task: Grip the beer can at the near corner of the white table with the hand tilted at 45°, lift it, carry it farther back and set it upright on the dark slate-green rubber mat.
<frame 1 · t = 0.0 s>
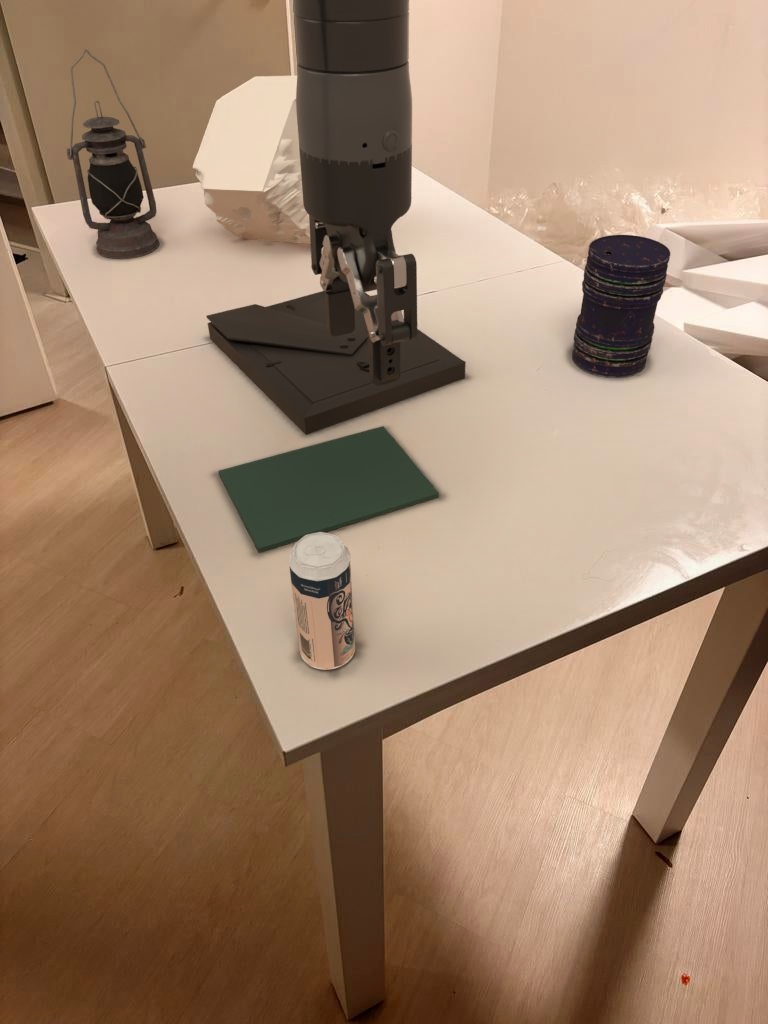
hand: (362, 356, 64), 22 cm above the table, tool pointing down, fingers open, 8 cm apart
dark blue cylinder: (608, 360, 107), on the table
beer can: (328, 653, 69), on the table
mat: (326, 485, 87), on the table
lantern: (128, 247, 139), on the table
white angular faceted block: (210, 146, 131), point 15 cm above the table
black flat block: (332, 363, 109), on the table
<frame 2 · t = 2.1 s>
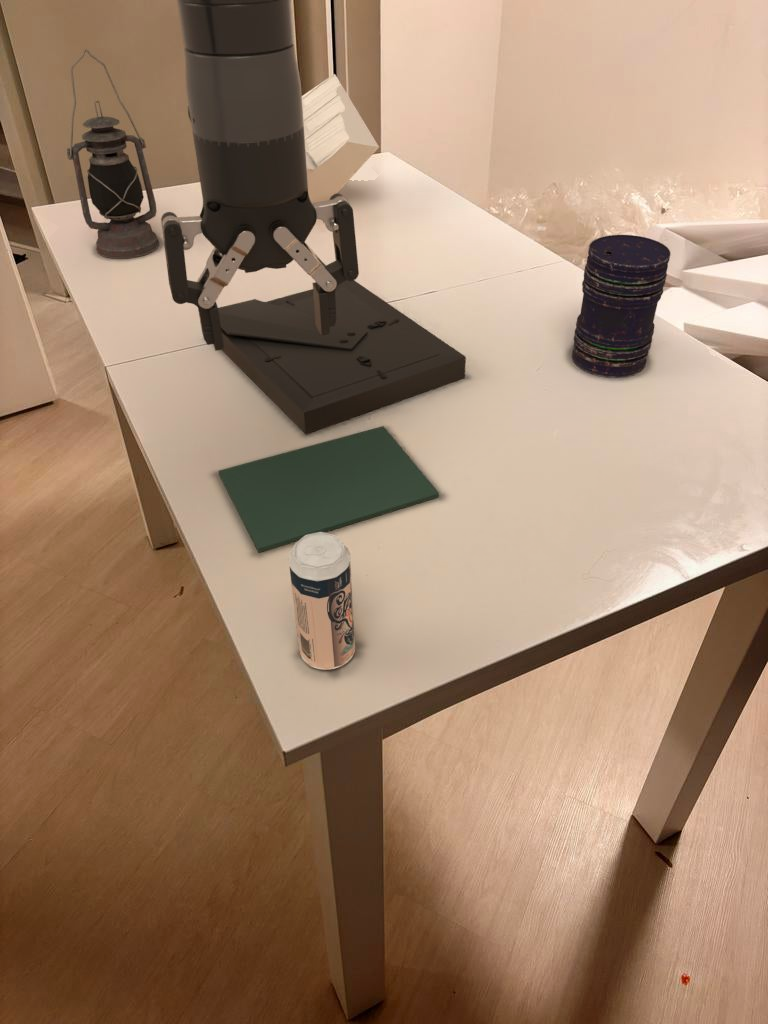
hand: (271, 338, 65), 23 cm above the table, tool pointing down, fingers open, 8 cm apart
white angular faceted block: (233, 177, 150), point 5 cm above the table
everything else where it was.
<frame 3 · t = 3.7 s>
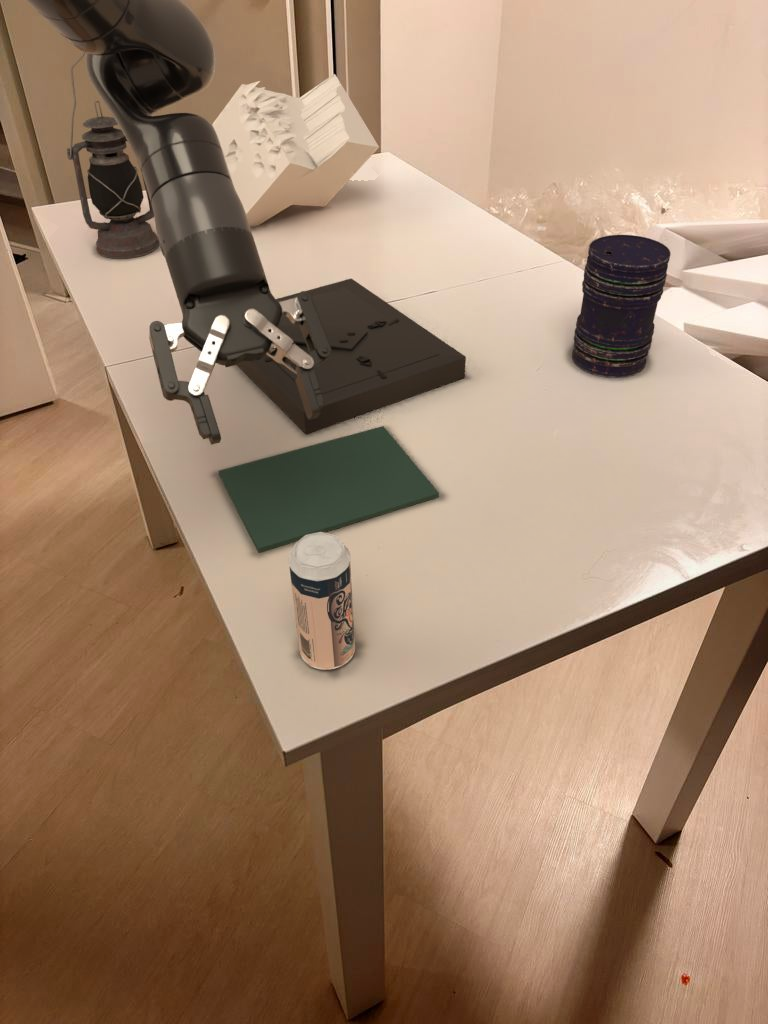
hand: (266, 429, 67), 16 cm above the table, tool tilted 45°, fingers open, 8 cm apart
nothing on the table moved.
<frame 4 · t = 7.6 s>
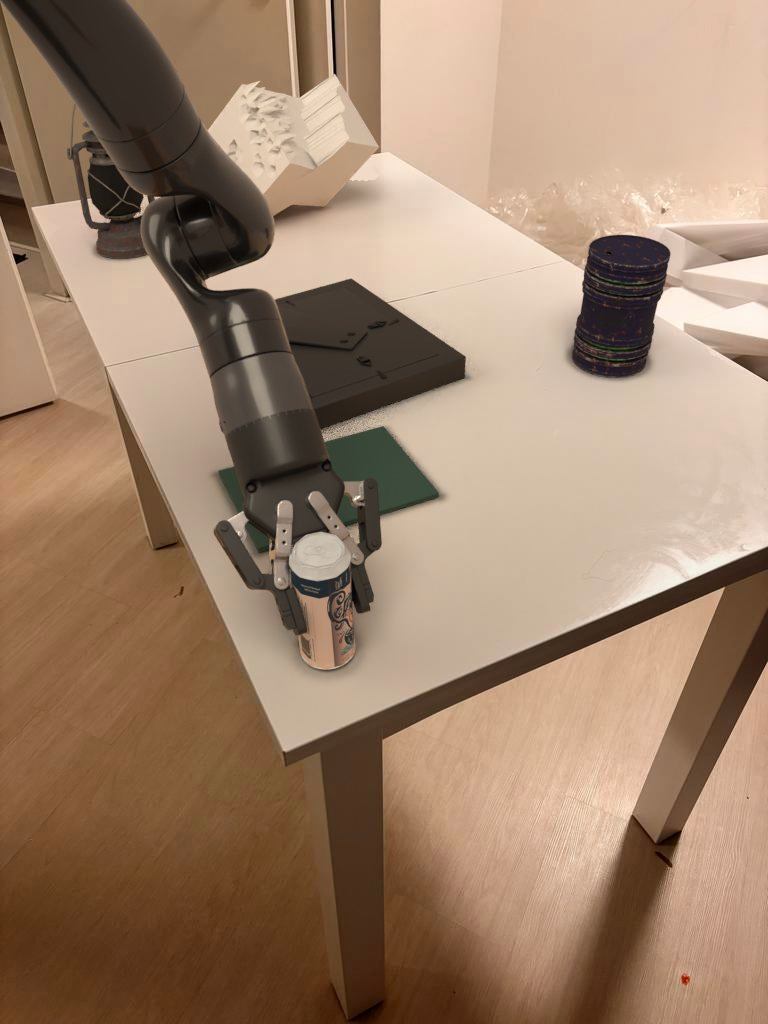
hand: (333, 621, 64), 6 cm above the table, tool tilted 45°, fingers closed on beer can, 4 cm apart
beer can: (328, 653, 69), on the table, touching gripper
everything else where it was.
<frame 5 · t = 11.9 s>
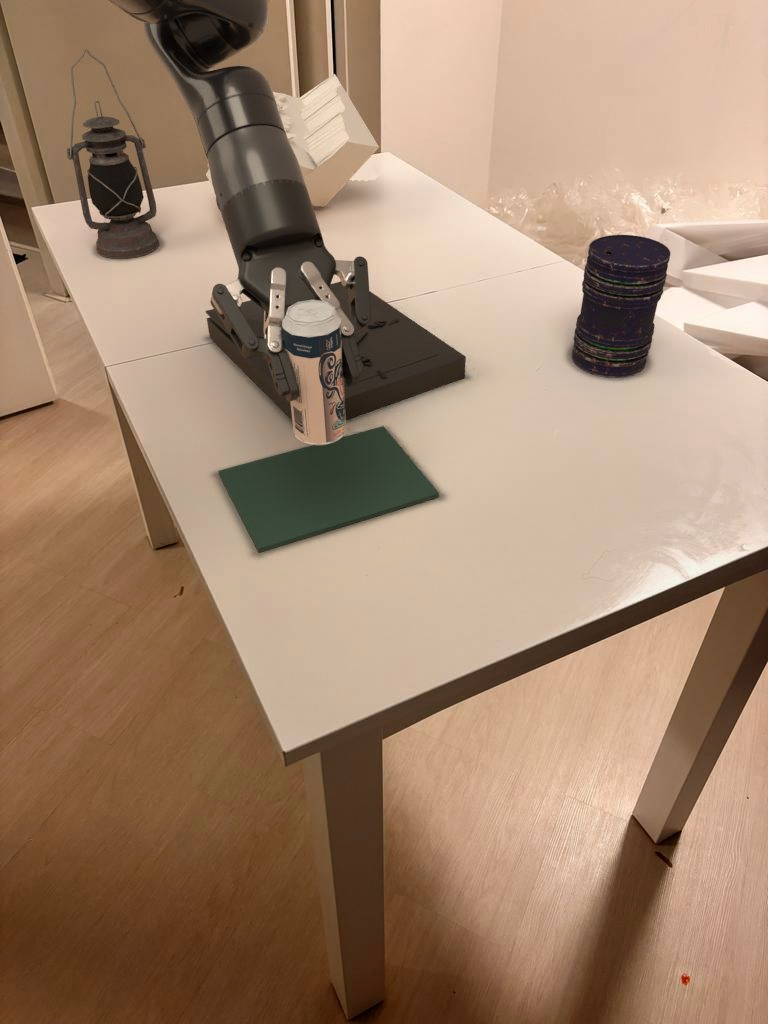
hand: (324, 390, 67), 18 cm above the table, tool tilted 45°, fingers closed on beer can, 4 cm apart
beer can: (320, 435, 72), point 12 cm above the table, touching gripper
everything else where it was.
when the fingers open (6 cm above the table, at t = 16.6 s): beer can stays where it is, resting on mat.
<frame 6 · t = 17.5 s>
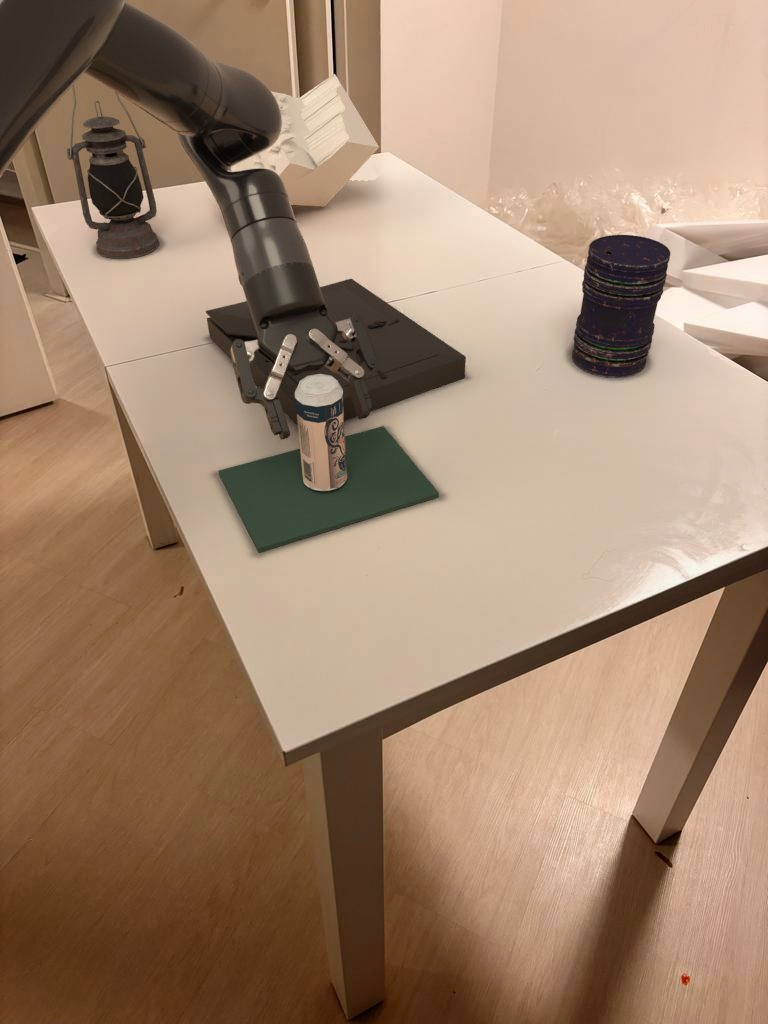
hand: (325, 427, 81), 8 cm above the table, tool tilted 45°, fingers open, 8 cm apart
beer can: (325, 482, 87), resting on mat
everything else where it was.
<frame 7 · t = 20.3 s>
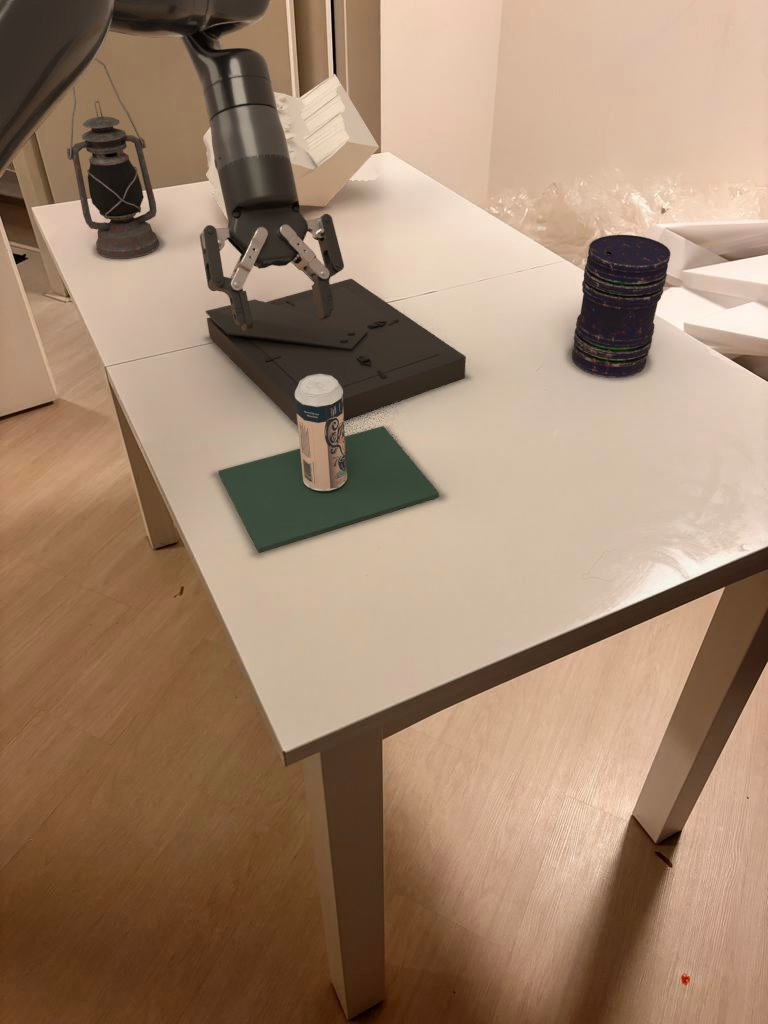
hand: (287, 323, 84), 15 cm above the table, tool tilted 35°, fingers open, 8 cm apart
nothing on the table moved.
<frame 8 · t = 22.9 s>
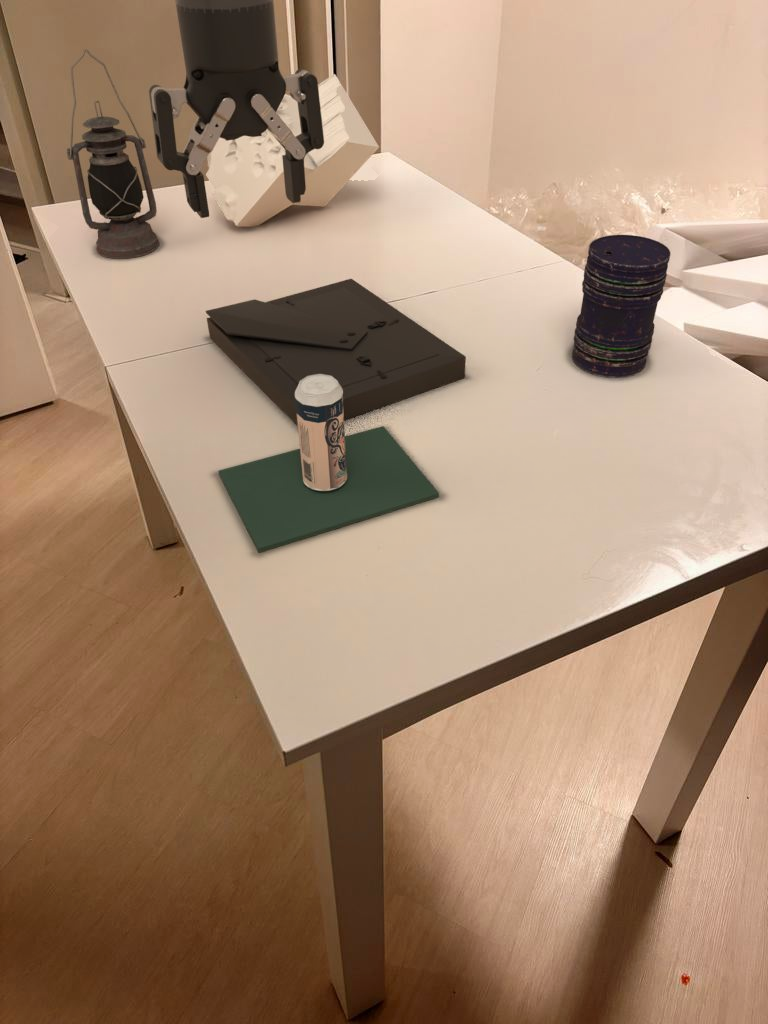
hand: (249, 207, 73), 28 cm above the table, tool pointing down, fingers open, 8 cm apart
nothing on the table moved.
at the end: beer can inside the target area on the mat (0.1 cm from its centre), point 0.4 cm above the mat's base; beer can tilted 0°; the gripper is holding nothing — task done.
